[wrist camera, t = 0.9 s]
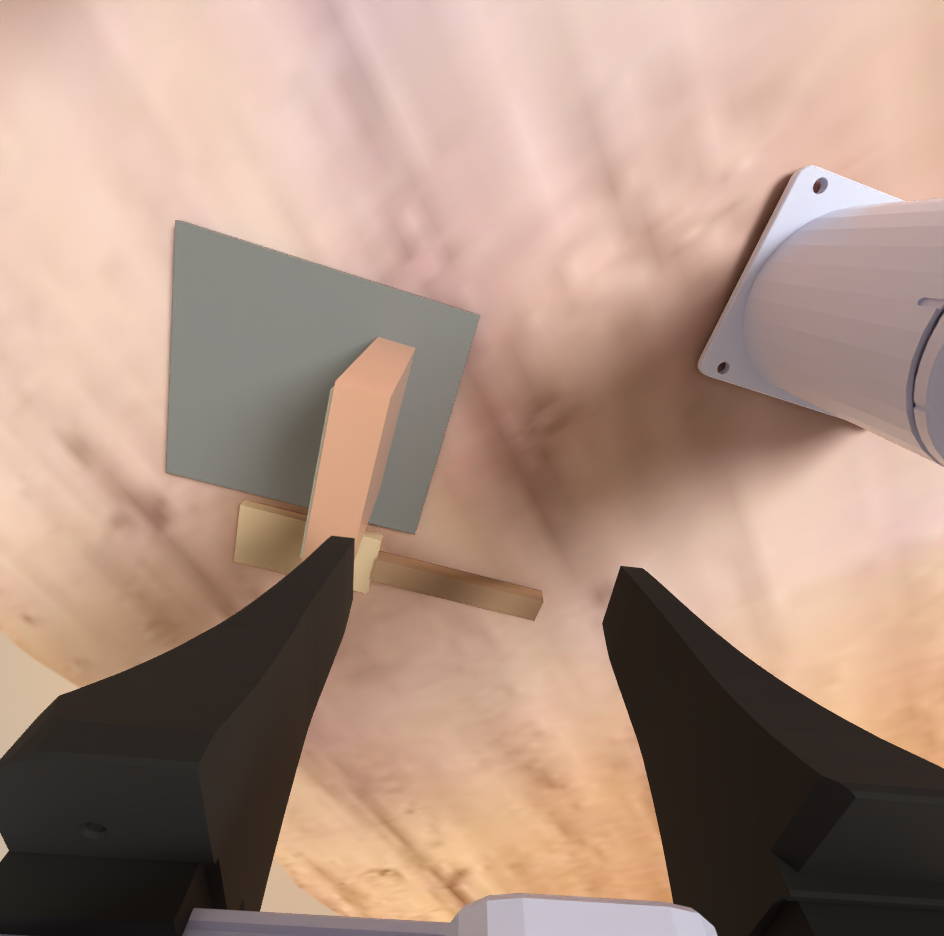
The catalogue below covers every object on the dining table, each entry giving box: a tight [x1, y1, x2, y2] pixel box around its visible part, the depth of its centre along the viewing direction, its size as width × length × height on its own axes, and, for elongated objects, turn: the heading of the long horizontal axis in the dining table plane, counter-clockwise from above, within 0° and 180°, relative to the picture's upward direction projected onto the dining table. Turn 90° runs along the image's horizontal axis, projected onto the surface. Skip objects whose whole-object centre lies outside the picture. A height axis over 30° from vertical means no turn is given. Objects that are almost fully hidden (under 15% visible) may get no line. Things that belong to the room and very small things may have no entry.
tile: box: [300, 337, 415, 562], centre depth 18 cm, size 2×7×7 cm, turn 163°
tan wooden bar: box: [234, 500, 543, 621], centre depth 25 cm, size 16×4×1 cm, turn 73°
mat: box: [166, 220, 480, 534], centre depth 21 cm, size 12×11×1 cm
